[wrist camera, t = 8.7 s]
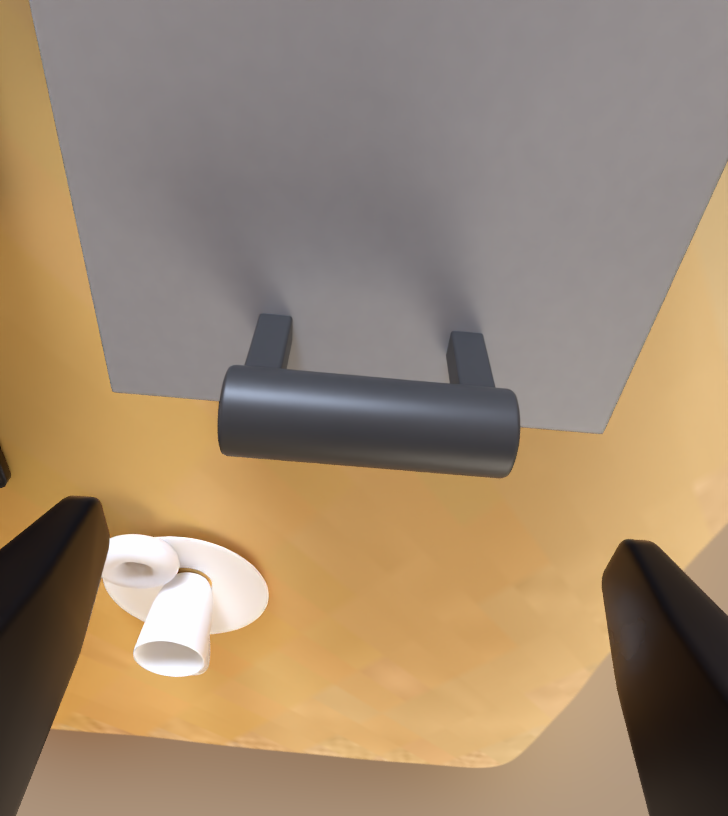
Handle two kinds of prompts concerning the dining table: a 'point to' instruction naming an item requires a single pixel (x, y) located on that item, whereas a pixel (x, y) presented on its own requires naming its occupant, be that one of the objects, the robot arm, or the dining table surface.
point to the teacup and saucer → (181, 597)
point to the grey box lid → (385, 209)
